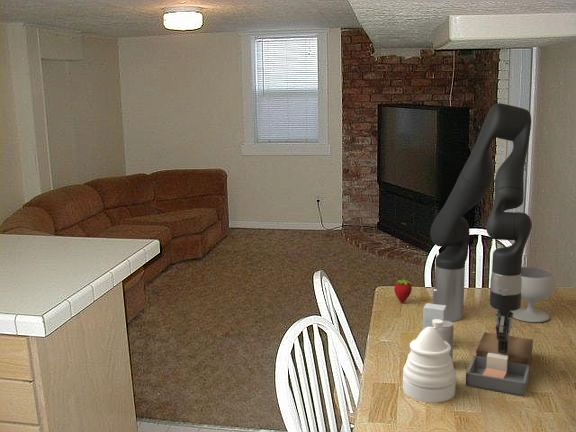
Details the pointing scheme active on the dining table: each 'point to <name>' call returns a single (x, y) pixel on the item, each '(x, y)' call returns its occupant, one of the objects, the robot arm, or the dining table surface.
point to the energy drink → (447, 334)
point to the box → (510, 385)
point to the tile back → (497, 362)
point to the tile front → (495, 373)
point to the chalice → (534, 293)
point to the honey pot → (429, 367)
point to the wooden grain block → (516, 348)
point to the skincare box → (433, 314)
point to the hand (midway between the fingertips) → (502, 352)
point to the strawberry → (402, 290)
